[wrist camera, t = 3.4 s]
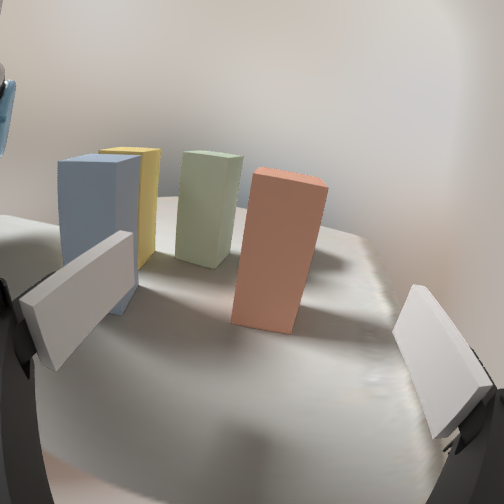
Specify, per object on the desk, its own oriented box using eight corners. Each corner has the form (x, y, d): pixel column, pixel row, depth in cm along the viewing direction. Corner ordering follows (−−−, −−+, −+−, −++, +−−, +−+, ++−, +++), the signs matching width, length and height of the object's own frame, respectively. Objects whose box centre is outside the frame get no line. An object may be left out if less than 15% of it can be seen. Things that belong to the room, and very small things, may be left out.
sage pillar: (174, 258, 32) (183, 151, 27) (193, 244, 36) (203, 150, 31) (214, 269, 31) (228, 157, 26) (229, 253, 35) (243, 156, 31)
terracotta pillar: (230, 323, 23) (253, 173, 18) (239, 292, 27) (260, 166, 22) (290, 334, 22) (328, 187, 18) (290, 302, 27) (319, 178, 22)
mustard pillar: (99, 261, 28) (98, 150, 23) (118, 244, 32) (121, 146, 28) (139, 269, 28) (143, 152, 23) (155, 250, 33) (161, 149, 28)
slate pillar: (71, 305, 20) (57, 161, 15) (93, 277, 25) (89, 153, 20) (121, 315, 21) (117, 162, 16) (138, 285, 25) (140, 155, 21)
